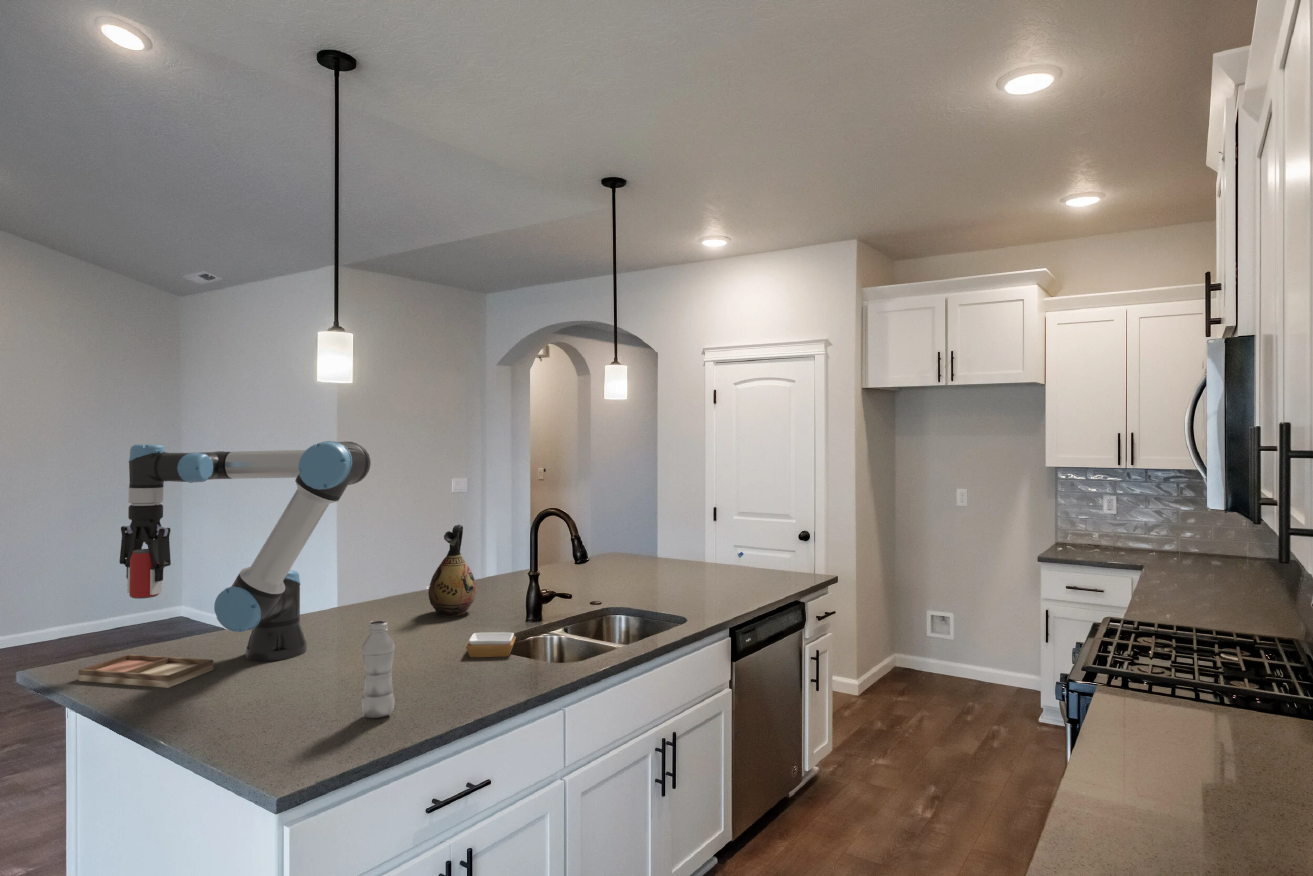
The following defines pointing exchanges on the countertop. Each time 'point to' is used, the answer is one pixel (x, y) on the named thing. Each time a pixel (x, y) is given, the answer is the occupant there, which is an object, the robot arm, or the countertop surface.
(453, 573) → the ceramic jug
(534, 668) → the countertop surface
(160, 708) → the countertop surface
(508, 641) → the soap dish
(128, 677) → the caddy tray
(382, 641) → the plastic bottle
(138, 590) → the beer can
